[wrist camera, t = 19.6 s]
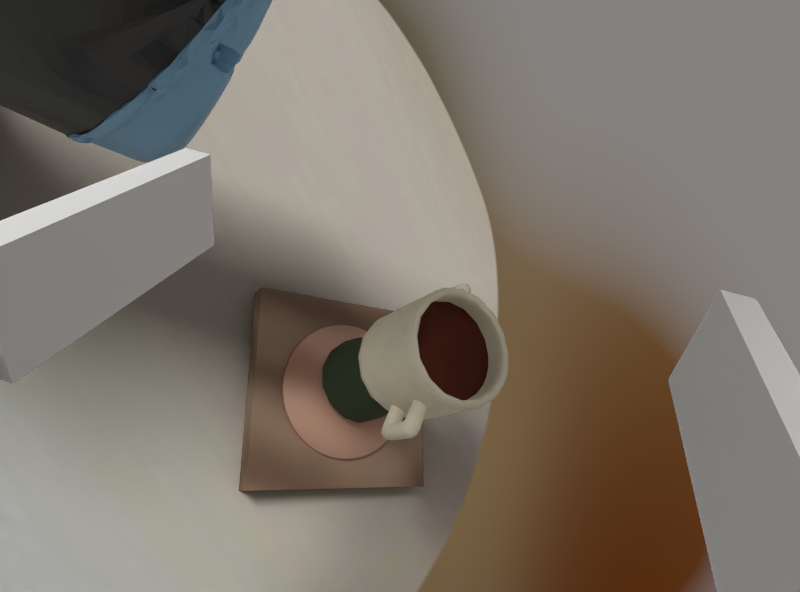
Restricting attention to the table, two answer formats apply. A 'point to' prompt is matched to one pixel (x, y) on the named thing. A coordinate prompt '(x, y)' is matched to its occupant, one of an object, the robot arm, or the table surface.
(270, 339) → the walnut board
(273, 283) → the table surface
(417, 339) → the character mug
